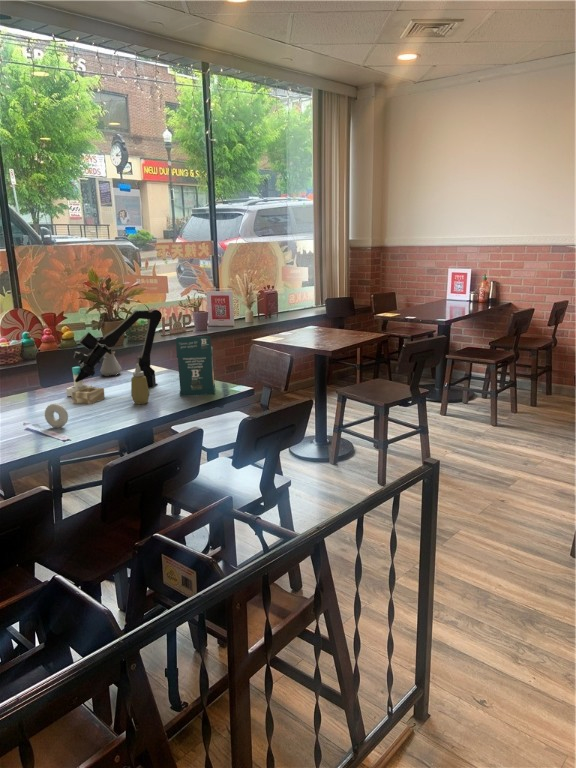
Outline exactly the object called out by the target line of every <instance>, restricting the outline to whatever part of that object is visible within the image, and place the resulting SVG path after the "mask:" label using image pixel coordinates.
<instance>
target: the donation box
mask: <svg viewBox="0 0 576 768" xmlns="http://www.w3.org/2000/svg"><path fill="white" fill-rule="evenodd" d="M211 341H212V340H211V336H209V335H203V336H202V335H201V336H183V337H182V336H181V337H180V336H179V337H176V338H175V346H176V347H175V349H176V358H177V365H178V366H177V367H178V368H177V369H178V378H179V380H178V381H179V397H192V396H194V397H195V396H212V395H213V396H215V393H216V392H215V391H216V384H215V375H214V374H215V373H214V361H213V359H214V358H213V352H214V351H213V350H214V349H213V346H212V342H211Z"/></svg>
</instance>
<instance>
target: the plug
mask: <svg viewBox="0 0 576 768" xmlns="http://www.w3.org/2000/svg"><path fill="white" fill-rule="evenodd" d="M71 371H72V376H73V377H72V378H73V384H74V385H73V386H75V388H76V389H81V388H84V386H83V385H84V381H83V380H84V379H82V380H80V381H78V382H75V380H76V378H77V376H78V375H79V373H80V367H79V366H73V367H71Z"/></svg>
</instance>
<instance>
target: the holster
mask: <svg viewBox="0 0 576 768" xmlns="http://www.w3.org/2000/svg"><path fill="white" fill-rule="evenodd" d="M83 386H84V387H93V385H92V384H83ZM81 389H82V388H81ZM65 390H66V397H67V396H72V392H74V391H77V390H79V389H76V388H75V385H72V386H70V387H67V388H66V389H65ZM71 398H73V396H72V397H71Z"/></svg>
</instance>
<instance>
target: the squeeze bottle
mask: <svg viewBox="0 0 576 768" xmlns="http://www.w3.org/2000/svg"><path fill="white" fill-rule="evenodd" d="M132 375H133V376H132V377H131V381H130V384H131V385H130V386H131V391H130V393H131V394H130V396H131V399H132V401H133V403H134V404H135V405H143V404H147V403H148V402H149V399H150V390H149V387H148V384H147V379H146V377H145V376H143V375H144V372H143V371H141V370H140V366H139V364H136V363H135V369H134V371H133V372H132Z"/></svg>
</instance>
